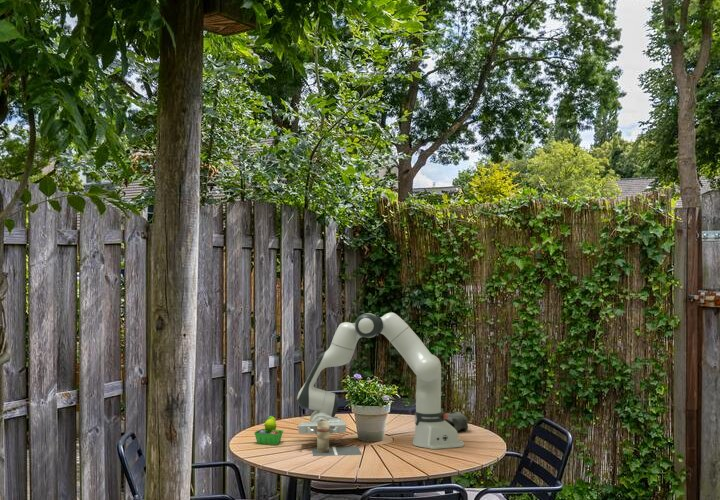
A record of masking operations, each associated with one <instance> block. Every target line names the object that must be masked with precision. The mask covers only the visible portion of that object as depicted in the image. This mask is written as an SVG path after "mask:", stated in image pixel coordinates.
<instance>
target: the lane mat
mask: <svg viewBox="0 0 720 500" xmlns="http://www.w3.org/2000/svg"><path fill="white" fill-rule="evenodd" d="M311 453H312V456H313V457H331V456H333V457H334V456H363V454H362V452H361V449H360V447H359V446H358V445H357V446H329V452H327V453H319V452H317V446H315V447H311Z"/></svg>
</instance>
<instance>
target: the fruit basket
mask: <svg viewBox="0 0 720 500" xmlns="http://www.w3.org/2000/svg"><path fill="white" fill-rule="evenodd" d="M263 425H264V428H261V429H257V430H256V431H255V432H254V435H255V441H256V443H257V445H274V446H276V445H279V444H280V443H281V441H282V436H283V434H284V433H283V432H284V430H283V429H282V430H281V429H277V420H276V418H275V417H274V416H273V415H269V416H268V418H267V419H266V420H265V422H264V424H263Z"/></svg>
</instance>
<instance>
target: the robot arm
mask: <svg viewBox="0 0 720 500" xmlns="http://www.w3.org/2000/svg"><path fill="white" fill-rule="evenodd" d="M379 334H380V335H383V336H384V337H385V338H386V339H387V340H388V341H389V343H390V344H391V345H392V346H393V347H394V348H395V350H396V351H397V352H398V353H399V354H400V356H401V357H402V358H403V359H404V361H405V362H406V363H407V365H408V366H409V368H410V369H411V370H412V371H413V373H414V374H415V375H416V387H415V412H414V424H415V428H414V434H413V439H412V443H411V444H412V445H413V446H415V447H421V448H425V449H430V450H437V449H439V450H440V449H441V450H442V449H450V448H451V449H452V448H463V447H464V446H465V445H464V441H463V440H461V439H460V438H459V434H458V431H457V430H456V429H455V428H454V427H453V426H451V425H450V424H449V423H448V422H446V421H445V419H448V415H447V414H445V412H444V411H442V363H441V360H440V359H439V358H438V356H436V355H435V354H432V353H431V352H430V350H429V349H428V348H427V346H426V345H425V343H423V341H422V339H420V337H419V336H418V335H417V334H416V333H415V331H413V329H412V328H411V327H410V326H409V324H408V323H407V322H406V321H404V320H403V319H402V318H401V317H400V316H399V315H398V314H397V313H395V312H388V313H385V314H384V315H383V316H377V315H375V314H373V313H369V312H367V313H363V314H360V315H358V317H357V318H356V320H355V322H353V323H352V322H349V321H348V322H347V321H346V322H345V321H344V322H341V323H340V324H339V325H338V327H337V329H336V330H335V332H334V335H333V337H332V340H331V342H330V346H329V347H328V349H327V350H325V351H324V352H321V353H320V354H319V356H318V358H316V360H315V362H314V364H313V366H312V368H311V370H310V372H309V374H308V376H307V377H306V380H305V382H304V383H303V385H302V387H301V388H300V390H299V391H298V393H297V397H296V401H297V403H298V405H299V407H300V408H301V409H302V408H303V409H307V410H313V412H312V413H311V414H310V419H309V421H303V422H300V423H299V424H297V429H298V434H301V435H304V434H306V435H307V434H310V435H313V434H315V435H316V436H317V422H318V421H329V428H330V429H329V435H330V434H344V433H346V432H347V431H346V430H347V424H346V422H345V421H344V420H343V419H342V417H340V416H336V414H337V412H338V408H339V397H338V395H337V394H336V393H334V392H331V391H329V390H323V389H320V388H317V387H315V384H316V381H317V380H318V378H319V376H320V373H321V372H322V371H323V370H324V369H326V368H332V367H341V366H345V365H347V364H348V363H350V361H351V360H352V358H353V355H354V352H355V350H356V346H357V344H358V341H359V339H362V338H367V339H369V338H375V337H376V336H377V335H379Z"/></svg>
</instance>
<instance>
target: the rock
mask: <svg viewBox="0 0 720 500" xmlns="http://www.w3.org/2000/svg"><path fill="white" fill-rule="evenodd" d="M444 414H447V415H448V419H445V421H446V422H448V423H449V424H450V425H451V426H453V427H454V428H455V429H456V430H457V432H458V431H459V430H463V431H465V432H467V431H468V429H469V427H468V426H469V425H468V424H469V423H468V419H467V416H466V415H464V414H463V413H461V412H459V411H452V412H451V413H450V412H444Z"/></svg>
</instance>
